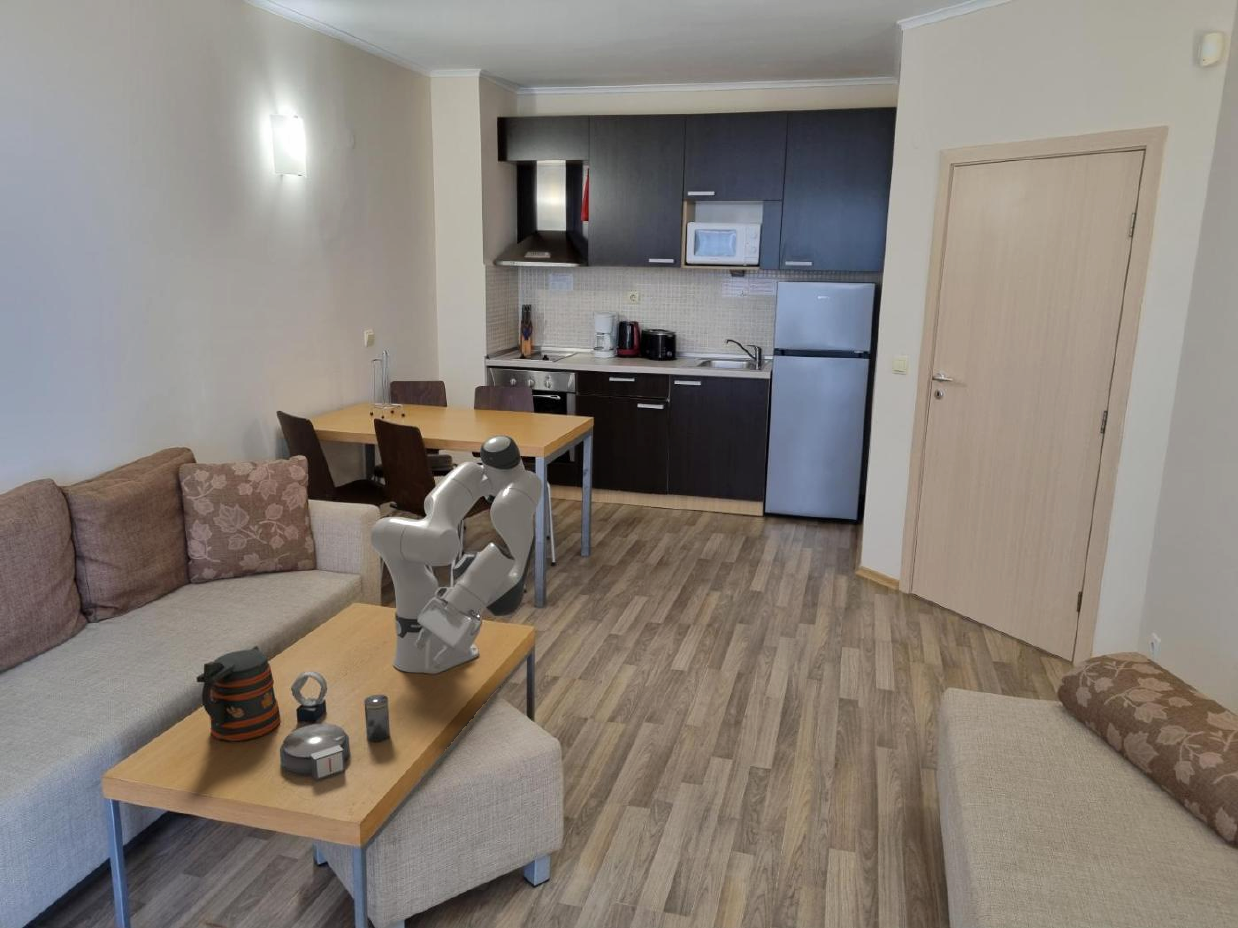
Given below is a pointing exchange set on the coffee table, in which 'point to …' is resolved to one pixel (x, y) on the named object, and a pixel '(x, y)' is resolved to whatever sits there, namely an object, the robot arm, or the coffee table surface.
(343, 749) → the scale
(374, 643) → the coffee table surface
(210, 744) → the coffee table surface
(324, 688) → the watch
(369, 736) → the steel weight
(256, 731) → the beer stein
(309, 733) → the pan
